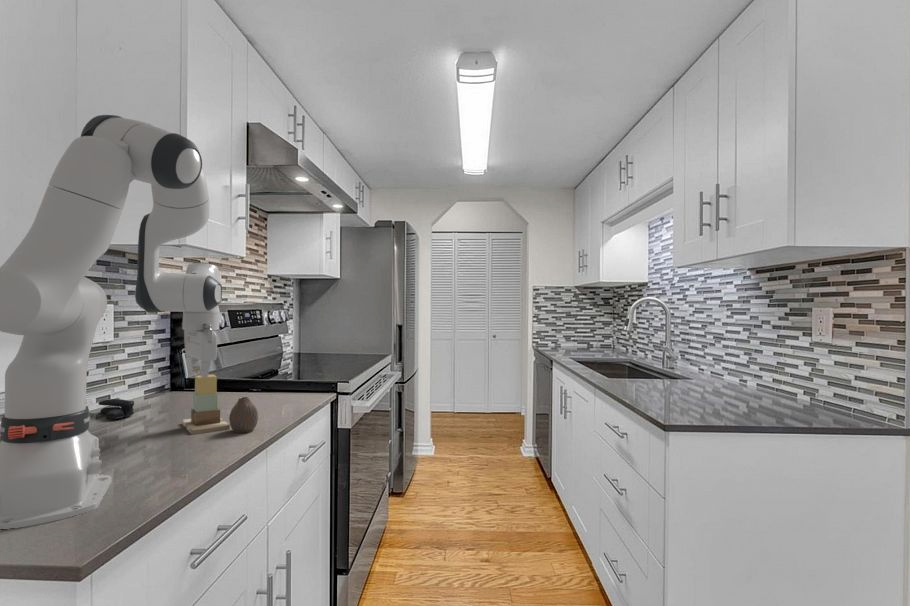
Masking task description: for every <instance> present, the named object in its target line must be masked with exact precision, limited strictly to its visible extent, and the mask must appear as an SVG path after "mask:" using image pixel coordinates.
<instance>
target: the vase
mask: <svg viewBox="0 0 910 606" xmlns="http://www.w3.org/2000/svg"><path fill="white" fill-rule="evenodd" d="M228 419H229V425H230V429H231V430H233V432H234V433H236V434H246V433H250V432H252V431H254V430H255V428H256V427H257V424H258V420H259V413H258V408H257V407H256V406H255V404H253V402H252V400H251V399H250V397H249V396H244V397H243V396H241V397H239V398H238V400H237V402H236V403H235V405H234V406H233V407H232V408H231V409H230V414H229V417H228Z"/></svg>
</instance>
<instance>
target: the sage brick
mask: <svg viewBox="0 0 910 606" xmlns="http://www.w3.org/2000/svg"><path fill="white" fill-rule="evenodd" d="M217 408H218V392H217V393H213V394H202V395H198V394H196V393H195V391H194V392H193V393H192V409H194V410H195V411H196V412H204V411H212V410H217Z"/></svg>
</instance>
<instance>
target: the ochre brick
mask: <svg viewBox="0 0 910 606" xmlns="http://www.w3.org/2000/svg"><path fill="white" fill-rule="evenodd" d="M217 382H218V377H217V375H215V374H209V376H208V377H201V376H200V374H199V375H194V392H195V393H196V394H198V395H202V394H213V393H217V394H218V391H217V390H218V387H217V386H218V385H217V384H218V383H217Z"/></svg>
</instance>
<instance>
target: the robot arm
mask: <svg viewBox="0 0 910 606" xmlns="http://www.w3.org/2000/svg"><path fill="white" fill-rule="evenodd" d="M206 179H207V178H206V176H205V172H204V169H203V160H202V155H201V152H200V151H199V148H198V146H197V145H196V144H195V143H194V142H193V141H192V140H190V139H189V138H187V137H186V136H183V135H181V134H179V133H175V132H174V133H173V132H170V131H169V130H168V131H167V130H166V129H162V128H160V127H157V126H154V125H153V124H150V123H149V122H148V123H147V122H145V121H144V122H143V121H141V120H136V119H130V118H124V117H122V116H119V115H114V114H100V115H96V116H94V117H93V118H91V119H90V120H89V121H88V122H87V123H86V124H85V126H84V127H83V129H82V131H81V134H80V136H79V137H76V138H75V139H73V141H72V142H71V143H70V144H69V146H68V147H67V149H66V150H65V152H64V153H63V155H62V156H61V158H60V160H59V161H58V163H57V165H56V167H55V168H54V171H53V173H52V175H51V176H50V179H49V182H48V184H47V187H46V190H45V193H44V195H43V197H42V201H41V203H40V205H39V208H38V210H37V212H36V215H35V218H34V220H33V223H32V225H31V226H30V228H29V230H28V232H27V233H26V235H25V236H24V238H23V239H22V241H21V242H20V243H19V244H18V246H16V248H15V250H14V251H13V252H12V254H11V255H10V256H9V257H8V258H7V260H5V262H4V263H3V264H1V266H0V333H5V334H10V335H15V336H16V335H17V336H22V340H21V343H20V346H19V348H18V352H17V353H16V355H15V357H14V358H13V360H12V361H11V362H10V363H9V365H7V368H6V370H5V373H4V415H3V416H1V418H0V419H1V420H0V440H1V442H0V529H8V530H10V529H9V528H15V529H19V528H20V527H21V528H26V527H31V526H32V527H33V526H35V525H36V526H38V525H42V524H46V523H51V522H56V521H60V520H64V519H67V518H68V517H69V518H71V517H72V516H73V517H75V515H76V516H79V514H80V515H83V514H86V513H88V511H89V512H91V511H94V510H96V509H97V508H98V507H99V506H100V504H101V502H102V501H103V498H104V497H105V495H106V493H107V491H108V489H109V488H110V486H111V484H112V482H113V479H112V475H109V474H101V473H102V468H103V460H102V459H99V457H101V452H102V451H101V450H102V449H101V448H99V438H98V437H97V436H96V435H93V434H92V433H91V432H90V431H89V428H90V419H91V418H90V417H91V415H90V410H89V408H88V407H87V379H88V376H87V375H88V364H89V359H90V358H89V357H90V353H91V350H92V345H93V342H94V338H95V334H96V331H97V327H98V324H99V321H100V320H101V319H102V317H103V316H104V314H105V313H106V311H107V308H108V297H107V294H106V292H105V291H104V289H103V287H102V286H101V285H99V284H98V283H97V282H95V281H93V280H92V279H90V278H88V277H86V274H87V273H88V272H89V271H90V270H91V268H92V266H93V265H94V264H95V263H96V261H97V260H98V259H99V258H100V257H101V256H103V255H104V254H106V252H107V251H108V249H110V248H109V247H110V245H111V243H112V240H113V237H114V234H115V232H116V229H117V227H118V226H117V225H118V224H119V223H118V222H119V221H120V218H121V216H122V212H123V209H124V206H125V203H126V200H127V196H128V193H129V188H130V184H131V183H132V182H133V181H134V180H135V181H139V182H143V183H146V184H150V187H151V194H152V201H153V203H152V204H153V205H152V209H151V211H150V212H149V213H148V214H144V216H143V217H142V220H141V222H140V224H139V228H138V229H139V230H138V239H137V266H136V267H137V271H136V272H137V274H136V284H135V291H134V297H135V303H136V304H137V305H138V306H139V307H140V308H141V309H142V310H144V311H146V312H147V313H149V314H151V313H153V314H154V313H165V312H170V313H171V312H174V313H175V312H177V313H178V312H179V313H181V312H182V322H181V328H182V330H183V333H184V334H183V340H184V352H185V354H186V356H189V357H190V363H191V373H193V374H199V375H200V376H201V377H208V376H209V375H210V372H209V371H210V367H211V364H212V362H213V361H216V360H217V358H218V357H217V356H218V339H217V338H218V337H217V336H218V335H217V333H216V331H219V330H220V316H221V315H220V314H221V313H220V308H219V305H220V304H221V303H222V301H223V300H222V297H223V296H222V295H223V289H222V288H223V286H222V284H221V279H220V271H219V268H218V266H217V265H215V264H212V263H208V262H200V261H198V262H191V263H189V264H188V265H186V269H185V270H186V271H185V273H179V272H178V273H175V272H174V273H173V272H169V273H168V272H165V271H162V270H160V268H159V267H160V249H161V246H162V245H164V244H167V243H169V242H171V241H174V240H180V239H183V238H187V237H190V236H191V235H194V234H196V233H197V232H199V231H200V230H201V229H203V227H204V226H206V224H207V222H208V221H209V219H210V197H209V190H208V185H207V180H206ZM109 485H110V486H109ZM103 496H104V497H103ZM98 505H99V506H98ZM93 509H94V510H93ZM90 510H91V511H90ZM85 512H86V513H85ZM82 513H83V514H82Z"/></svg>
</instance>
